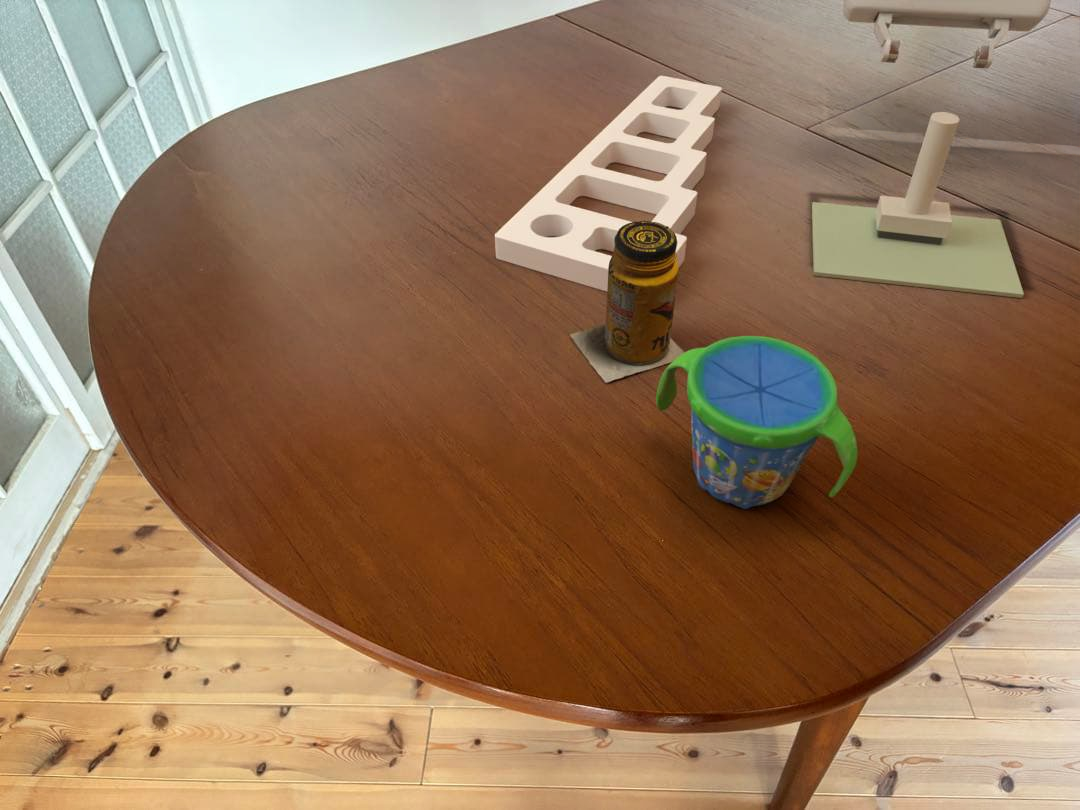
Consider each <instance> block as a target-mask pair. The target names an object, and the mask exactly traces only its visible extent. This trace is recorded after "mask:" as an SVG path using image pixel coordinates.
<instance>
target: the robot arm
mask: <svg viewBox="0 0 1080 810" xmlns="http://www.w3.org/2000/svg"><path fill="white" fill-rule="evenodd" d="M842 7H843V8H842V14H843V17H844V18H846V20H847V21H848V22H850V23H862V24H863V23H864V24H865V23H866V24H874V25H873V33H874V36H875V38H876V40H877V42H878V44H879V46H880V48H881V55H880V63H888V64H889V63H890V64H895V63H896V62H897V60H898V57H899V53H900V51H899V49H900V46H901V45H900V44H901V40H893V38H892V36H891V33H890V29H889V28H890V26H891V25H899V26H901V25H902V26H920V27H935V28H936V27H939V28H955V29H957V28H958V29H971V30H973V29H975V30H988V33H987V38H988V39H992V40H991V41H990V43H989V44H988V45H979V46H978V48H977V49H976V50H975V52H974V53H973V60H974V61H973V63H972V68H973V69H983V70H985V69H987V70H988V69H989V68H990V67H991V66H992V64H993V61H994V57H995V56H994V55H995V49H996V47H998V45H999V43H1000V42H1001V41H1002V39H1003V38H1004V37H1005V36H1006V35H1007V33H1008V31H1009V32H1024V33H1025V32H1030V31H1032V30H1033V29H1034V28H1036V27H1037V25H1039V24H1040V23H1041V22H1042V21H1043V20H1044V18H1046V16H1047V14H1048V12H1049V11H1050V7H1051V0H844V1H843V6H842Z"/></svg>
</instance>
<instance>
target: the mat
mask: <svg viewBox="0 0 1080 810" xmlns="http://www.w3.org/2000/svg"><path fill="white" fill-rule="evenodd" d="M876 209H877V207H870V206H861V205H849V204H839V203H828V202H827V203H826V202H818V201H817V202H816V201H813V202H811V229H812V232H811V233H812V268H813V269H812V270H813V277H814V276H815V277H823V278H832V279H833V278H834V279H842V280H852V281H861V282H868V283H880V284H887V285H897V286H906V287H915V288H923V289H924V288H925V289H934V290H944V291H951V292H952V291H953V292H962V293H971V294H979V295H980V294H981V295H990V296H999V297H1007V298H1017V299H1023V298H1024V295H1025V293H1024V290H1023V287H1022V283H1021V281H1020V278H1019V277H1020V276H1019V275H1018V270H1017V268H1016V265H1015V262H1014V259H1013V256H1012V253H1011V250H1010V246H1009V243H1008V239H1007V237H1006V233H1005V229H1004V227H1003V224H1002V221H1001V219H999V218H998V219H997V218H986V217H975V216H967V215H965V216H964V215H955V214H951V218H952V225H951V228H950V230H949V233H948V236H947V238H943V239H942V241H941V244H940V245H938V244H929V243H921V242H912V241H904V240H895V239H887V238H878V237H877V222H876Z"/></svg>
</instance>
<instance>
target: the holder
mask: <svg viewBox="0 0 1080 810" xmlns="http://www.w3.org/2000/svg"><path fill="white" fill-rule="evenodd" d="M722 90H723V88H722V87H721V86H718V85H712V84H706V83H702V82H697V81H692V80H687V79H683V78H682V79H681V78H676V77H671V76H665V75H658V77H656V78H655V79H654V80H653V81H652V82H651V83H650V84H649V85H648V86H647V87H646V88H645V89H644V90H643V91H641V93H640V94H638V96H636V98H635V99H633V101H631V103H629V104H628V106H626V108H625V109H623V110H622V111H621V112H620V113H619V114H618V115H617V116H616V117H615V118H614V119H613V120H612V121H611V122H610V123H609V124H608V125H607V126H605V127H604V129H602V131H600V132H599V133H598V134H597V135H596V136H595V137H594V138H593V139H592V140H591V141H590V142H589V143H588V144H587V145H586V146H585V147H584V148H583V149H582V150H580V152H579V153H577V155H576V156H575V157H573V158H572V159H571V160H570V161H569V162H568V163H567V164H566V165H565V166H564V167H563V168H561V170H560V171H559V172H558V173H557V174H556V175H555V176H554V177H553V178H551V180H550V181H548V182H547V184H545V185H544V186H543V187H542V188H541V189H540V190H538V192H537V193H536V194H535V195H534V196H533V197H532V198H531V199H530V200H529V201H528V202H526V203H525V205H524V206H523V207H522V208H521V209H519V210H518V211H517V213H515V214H514V215H513V216H512V217H511V218H510V219H509V220H508V221H507V222H506V223H505V224H504V225H502V226H501V228H500V229H499V230H498V231H496V232H495V233H494V245H495V246H494V248H495V249H494V250H495V258H496V259H497V260H500V261H503V262H507V263H510V264H514V265H516V266H520V267H524V268H526V269H529V270H533V271H536V272H541V273H543V274H547V275H550V276H553V277H556V278H560V279H563V280H565V281H566V280H567V281H570V282H573V283H576V284H580V285H583V286H586V287H589V288H593V289H596V290H600V291H603V292H607V288H608V267H609V262H610V259H611V257H612V256H613V255H609V254H606V253H603V252H599V251H597V250H604V251H607V252H612V253H613V250H614V246H615V243H614V242H615V241H614V238H615V236H616V235H617V232H618V230H619V229H620V228H621V227H622V226H624V225H626V224H628V223H631V222H632V221H630V220H628V219H627V220H626V219H623V218H618V217H615V216H611V215H607V214H604V213H599V212H596V211H593V210H589V209H584V208H581V207H578V206H573V205H571V204H572V203H573V202H575V200H576V199H577V198H579V197H587V198H591V199H595V200H598V201H603V202H607V203H610V204H614V205H618V206H622V207H626V208H629V209H633V210H637V211H641V212H644V213H648V214H653V215H655V216H654V218H653V219H652V220H650V221H651V222H657V223H661V224H663V225H665V226H668V227H669V228H670V229H671V230H672V231H673V232H674V233H675V235H676V238H677V247H676V260H677V262H678V267H679V268H680V267H681V266H682V264H683V263H684V261H685V256H686V249H687V248H686V247H687V241H688V238H687V236H686V235H683V234H682V232H683V231H684V230H685V229H686V227H687V226H688V224H689V223H690V222H691V221H692V219H693V218H694V217H695V214H696V208H697V207H696V206H697V200H698V191H696V190H693V189H694V188H695V187H696V185H697V184H698V183H699V182H700V180H702V179H703V177H704V176H705V171H706V169H705V168H706V161H707V156H708V155H707V152H706V151H704V150H705V149H706V148H707V147H708V146H709V144H710V143H711V142H712V141H713V134H714V128H715V121H716V119H715V117H713V116H714V115H715V114H716V113H717V112H718V110H719V109H720V107H721V99H722ZM670 107H673V108H670ZM674 108H678V109H674ZM641 133H648V134H653V135H656V136H660V137H661V136H662V137H666V138H670V139H675V141H673V142H663V141H659V140H654V139H650V138H645V137H641V136H638V135H640V134H641ZM613 163H616V164H617V163H618V164H622V165H626V166H631V167H634V168H639V169H643V170H648V171H651V172H655V173H659V174H665V176H664V178H663V179H661V180H652V179H647V178H644V177H640V176H635V175H632V174H627V173H623V172H619V171H615V170H612V169H607V167H608V166H609V165H610V164H613Z"/></svg>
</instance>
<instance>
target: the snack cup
mask: <svg viewBox="0 0 1080 810" xmlns="http://www.w3.org/2000/svg"><path fill="white" fill-rule="evenodd" d="M684 352H685V353H683V354H681V355H680V356H679V357H677V358H676V359H675V360H674V361H673V362H670V363H669V365H668V366H667V367H666V368H665V369H664V371H663V372H662V374H661V377H660V379H659V382H658V385H657V388H656V389H657V390H656V396H655V404H656V407H657V409H658V410H659V411H662V412H663V411H666V410H667V409H669V408H670V407H671V406H672V404H673V403H674V401H675V399H676V397H677V392H678V383H677V378H676V376H677V375H676V371H677V370H678V368H682V369H683V370H684V371H685V372H686V373H687V380H686V393H687V399H688V402H689V405H690V407H691V417H690V418H691V420H690V421H691V439H692V442H691V443H692V445H691V450H692V466H693V471H694V474H695V476H696V480H697V483H698V485H699V486H700V488H702V490H703V491H706V492H708V493H709V494H710V495H711V496H712V497H713V498H715V499H717V500H718V501H721V502H723V503H726V504H732V505H734V506H736V507H739V508H741V509H743V510H747V509H750V508H752V507H759V506H764V505H766V504H769V503H772V502H773V501H775V500H777V499H778V498H780V497H782V496H783V495H784V493H786V491H787V490H788V489H789V487H790V486H791V484H792V482H793V480H794V478H795V476H796V474H797V473H798V471H799V470H800V468H801V466H802V463H804V460H805V458H806V457H807V454H808V453H809V451H810V449H812V447H813V446H814V444H815V443H816V442H817V441H818V440H819V438H820V437H823V438H826V439H829V440H830V441H832V442H833V445H834V448H835V450H836V453H837V455H838V457H839V460H840V462H841V465H842V467H843V469H842V471H841V473H840V475H839V477H838V479H837V481H836V483H835V485H833V487H832V488H831V490H830V491H829V493H828V496H829V498H832V499H833V498H834V497H835V496H836V495H837V494H838V493H839V492H840V491H841V489H842V488H843V486H844V485H845V484H846V482H848V479H849V478H850V477H851V475H852V473H853V472H854V470H855V467H856V464H857V461H858V444H857V443H858V442H857V438H856V434H855V431H854V430H853V426H852V425H851V423H850V421H849V420H848V418H847V417H846V416H845V414H844V413H843V412H842V410H841V409H840V408H839V406H838V387H837V384H836V381H835V379H834V376H833V374H832V373H831V372H830V370H829V369H828V367H826V366H825V364H824V363H823V362H822V361H821V360H820V359H818V358H817V357H816V356H815V355H813V354H812V353H811V352H809V351H807V350H805V349H804V348H802V347H800V346H798V345H796V344H793V343H790V342H788V341H786V340H782V339H779V338H774V337H769V336H761V335H740V336H731V337H726V338H723V339H720V340H717V341H715V342H713V343H711V344H709V345H708V346H706V347H695V348H691V349H689V350H687V351H684Z"/></svg>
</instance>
